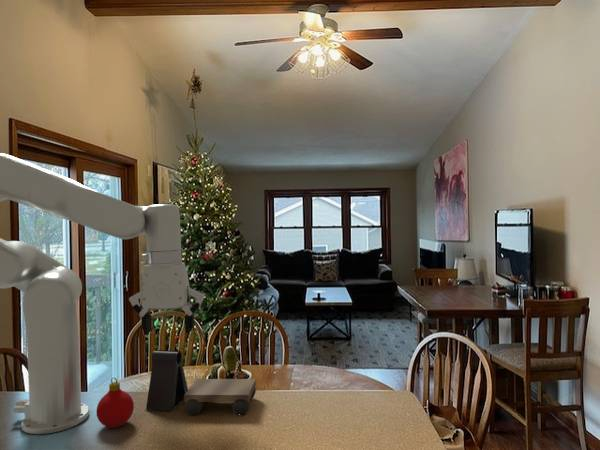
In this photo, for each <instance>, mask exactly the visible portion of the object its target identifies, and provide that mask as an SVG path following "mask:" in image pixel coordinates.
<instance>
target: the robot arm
mask: <svg viewBox="0 0 600 450" xmlns="http://www.w3.org/2000/svg"><path fill="white" fill-rule="evenodd" d="M7 200H9V201H13V202H15V203H18V204H21V205H24V206H27V207H30V208H33V209H35V210H36V211H37V210H38V211H40V212H44V213H46V214H49V215H52V216H54V217H56V218H58V219H64V220H66V221H70V222H73V223H76V224H79V225H82V226H83V227H85V228H89V229H92V230H95V231H97V232H99V233H102V234H106V235H108V236H111V237H114V238H117V239H120V240H130V239H134V238H136V237H140V236H146V237H145V239H146V252H145V253H142V254H141V257H140V258H141V260H142V261H143V260H145V261H146V264H145V265H143V270H142V277H141V290H140V291H139V292H136V293H135V294H133V295H132V296H130V297H128V301H129V302H130V304H131V306H132V308H133V310H134V311H135V312H136V313H137V314H138V315H139V316H138V317H140V318H141V330H143V335H148V334H149V333H151V332H152V331H153V323H152V321H153V319H152V314H151V313H150V312H151V311H152V310H176V309H177V310H178V309H182V311H183V312H184V313H185V314H186V315H185V316H184V329H185V330H184V331H185V334H190V333H191V332H192V331H193V329H194V328H195V312H197V311H198V309H199V308H200V307H202V306H201V305H202V303H203V301H204V299H205V294H203V293H202V292H199V291H197V290H195V289H194V288H191V287H190V281H189V280H190V279H189V276H188V271H187V266H186V264H185V262H183V259H182V258H183V257H182V237H181V218H180V217H181V215H180V208H179V206H178V205H176V204H171V203H169V204H168V203H164V204H163V203H162V204H160V203H159V204H151V205H148V206H144V205H142V206H141V205H135V204H134V205H133V204H131V203H128V202H126V201H124V200H121V199H118V198H115V197H113V196H110V195H107V194H105V193H102V192H100V191H97V190H95V189H92V188H90V187H88V186H85V185H83V184H81V183H80V182H78V181H76V180H74V179H72V178H69V177H68V176H64V175H61V174H59V173H56V172H55V171H51V170H49V169H46V168H43V167H40V166H38V165H35V164H33V163H31V162H28V161H26V160H23V159H20V158H18V157H15V156H13V155H10V154H6V153H3V152H0V203H1V202H4V201H7ZM12 287H14V288H15V289H18V290H19V291H22V292H23V296H22V311H23V318H24V323H25V336H26V351H27V373H28V374H27V377H28V399H27V398H26V399H23V398H22V399H18V400H16V402H15V406H14V407H13V410H12V411H13V413H14V414H22V413H23V414H24V418H23V419H22V420H21V423H20V424H21V425H20V426H21V427H20V428H21V430H22V431H23V432H25V433H27V434H31V435H45V434H51V433H52V434H53V433H57V432H61V431H65V430H68V429H70V428H73V427H75V426H77V425H79V424H81V423H83V422H84V421H85V420H86V419H87V418H88V417H89V415H90V408H89V405H87V404H85V403H82V398H81V397H82V393H81V369H80V367H81V365H80V364H81V363H80V341H79V340H80V339H79V338H80V337H79V321H78V314H77V313H78V311H77V302H78V301H79V298H80V297H81V295H82V292H83V291H82V290H83V284H82V280H81V278H80V276H79V275H78V274H77V273H76V272H75V271H74V270H72V269H71V268H69V267H67V266H66V265H64V264H63V263H61V262H59V261H58V260H56V259H54V258H53V257H52V256H50V255H48V254H46V253H45V252H43V251H41V250H40V248H39V249H38V248H37V247H35V246H34V245H31V244H29V243H27V242H23V241H19V240H9V241H8V240H5V239H4V238H1V237H0V289H9V288H10V289H11V288H12ZM191 297H193V298H195V302H194V304H193V305H192V303H190V302H191ZM139 299H141V303H140V302H139Z"/></svg>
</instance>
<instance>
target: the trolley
mask: <svg viewBox="0 0 600 450" xmlns="http://www.w3.org/2000/svg"><path fill="white" fill-rule="evenodd" d="M256 380H257V379H256V378H196V379H195V380H194V381H193V383H192V385H191V386H190V387H189V388H188V391H187V392H186V393H185V395H184V400H183V402H184V403H185V404H184V410H185V412H186V413H187V415H190V416H197V415H198V414H199V413H201V411H202V409H203V406H204V403H209V402H210V403H232V406H231V407H232V411H233V413H234V414H236V415H237V416H240V415H242V416H245V415H246V414H247V413H248V412H249V411H250V407H251V400H252V399H254V398H255V395H256V392H257V390H256V388H257V387H256V385H257V384H256ZM239 414H240V415H239Z"/></svg>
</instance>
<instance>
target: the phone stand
mask: <svg viewBox="0 0 600 450" xmlns="http://www.w3.org/2000/svg"><path fill="white" fill-rule="evenodd" d="M151 364H152V365H151V371H150V372H151V373H150V377H149V379H150V380H149V385H148V391H147V392H148V393H147V399H146V406H145V407H146V408H145V410H146V411H155V410H157V412H169V411H172V410H173V409H174V408H175V407H176V406H177V405H178V404H179V403H180V402H181V403H183V402H184V395H185V393H186V392H187V391H188V389H189V388H188V384H187V378H186V375H185V369H184V366H183V354H182V351H181V350H165V349H163V350H162V349H156V350H154V351H153V352H152V354H151ZM181 403H180V404H181ZM180 404H179V405H180ZM179 405H178V406H179ZM178 406H177V407H178ZM177 407H176V408H177ZM176 408H175V409H176ZM175 409H174V410H175ZM174 410H173V411H174ZM173 411H172V412H173Z"/></svg>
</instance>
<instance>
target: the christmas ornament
mask: <svg viewBox="0 0 600 450" xmlns="http://www.w3.org/2000/svg"><path fill="white" fill-rule="evenodd" d="M113 379H114V380H115V381H114V382H113ZM108 388H109V389H108V392H107V393H105V394H104V395H103V396H102V397H101V398H100V400H99V401H98V404H97V406H96V417H97V420H98V422H100V424H102V425H103V426H105V427H107V428H114V429H115V428H118V427H121V426H123V425H124V424H126V423H127V422H128V421H129V420H130V419H131V417H132V415H133V412H134V408H135V404H134V400H133V397H132V396H131V395H130V394H129V393H128V392H126V391H124V390H122V389H120V388H121V383H120V382H118V380H117V378H116V377H112V378H111V380H110V383H109V385H108Z"/></svg>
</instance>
